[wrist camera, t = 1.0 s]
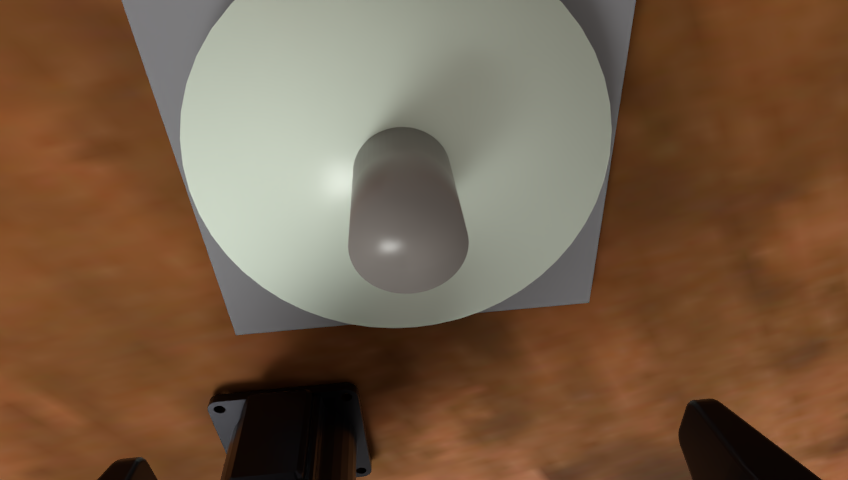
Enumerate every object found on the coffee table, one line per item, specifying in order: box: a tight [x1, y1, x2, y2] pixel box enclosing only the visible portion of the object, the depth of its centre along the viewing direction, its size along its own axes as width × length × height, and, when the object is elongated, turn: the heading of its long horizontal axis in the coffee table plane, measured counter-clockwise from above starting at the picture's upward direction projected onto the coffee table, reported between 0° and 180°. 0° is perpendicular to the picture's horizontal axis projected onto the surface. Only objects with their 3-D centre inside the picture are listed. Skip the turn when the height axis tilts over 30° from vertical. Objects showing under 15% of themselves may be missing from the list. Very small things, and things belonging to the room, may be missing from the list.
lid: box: [180, 0, 612, 328], centre depth 16 cm, size 13×13×5 cm
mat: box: [122, 0, 636, 335], centre depth 18 cm, size 14×14×1 cm
